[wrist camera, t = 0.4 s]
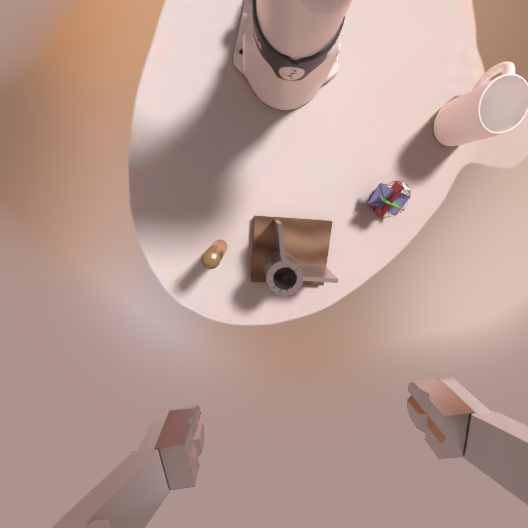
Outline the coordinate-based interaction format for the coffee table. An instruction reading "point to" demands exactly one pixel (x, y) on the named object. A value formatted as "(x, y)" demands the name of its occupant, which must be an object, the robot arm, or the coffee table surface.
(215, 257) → the pin
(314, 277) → the grey socket block
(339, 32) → the robot arm
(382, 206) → the geometric puzzle
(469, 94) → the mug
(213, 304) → the coffee table surface
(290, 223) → the base board
